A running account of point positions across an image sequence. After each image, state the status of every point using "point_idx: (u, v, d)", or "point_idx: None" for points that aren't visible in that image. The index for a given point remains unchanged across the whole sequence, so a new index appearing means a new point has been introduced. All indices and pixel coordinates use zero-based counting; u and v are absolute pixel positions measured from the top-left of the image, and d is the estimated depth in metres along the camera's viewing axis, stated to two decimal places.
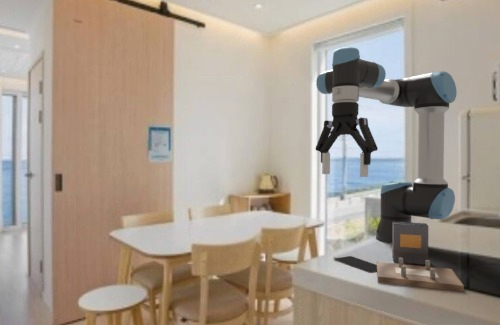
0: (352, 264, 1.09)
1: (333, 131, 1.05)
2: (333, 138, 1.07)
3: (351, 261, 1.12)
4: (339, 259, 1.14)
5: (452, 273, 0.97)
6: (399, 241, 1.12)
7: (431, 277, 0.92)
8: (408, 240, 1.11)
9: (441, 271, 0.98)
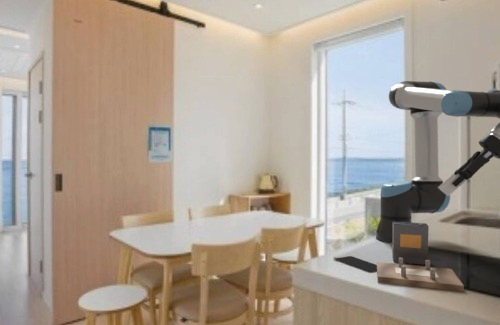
0: (352, 264, 1.09)
1: (483, 165, 1.03)
2: None
3: (351, 261, 1.12)
4: (339, 259, 1.14)
5: (452, 273, 0.97)
6: (399, 241, 1.12)
7: (431, 277, 0.92)
8: (408, 240, 1.11)
9: (441, 271, 0.98)
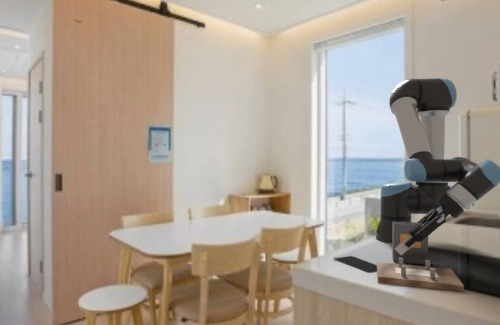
0: (352, 264, 1.09)
1: None
2: None
3: (351, 261, 1.12)
4: (339, 259, 1.14)
5: (452, 273, 0.97)
6: (399, 241, 1.12)
7: (431, 277, 0.92)
8: None
9: (441, 271, 0.98)
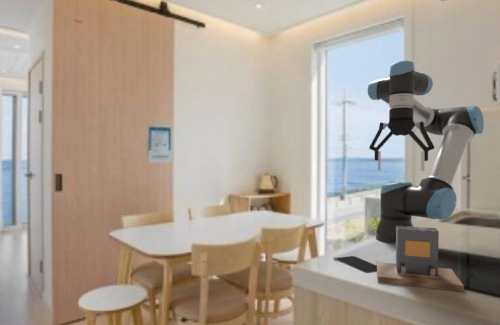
0: (351, 264, 1.09)
1: (392, 132, 1.20)
2: (388, 138, 1.21)
3: (352, 261, 1.12)
4: (340, 258, 1.14)
5: (452, 273, 0.97)
6: (403, 249, 0.96)
7: (431, 277, 0.92)
8: (415, 248, 0.95)
9: (441, 271, 0.98)
